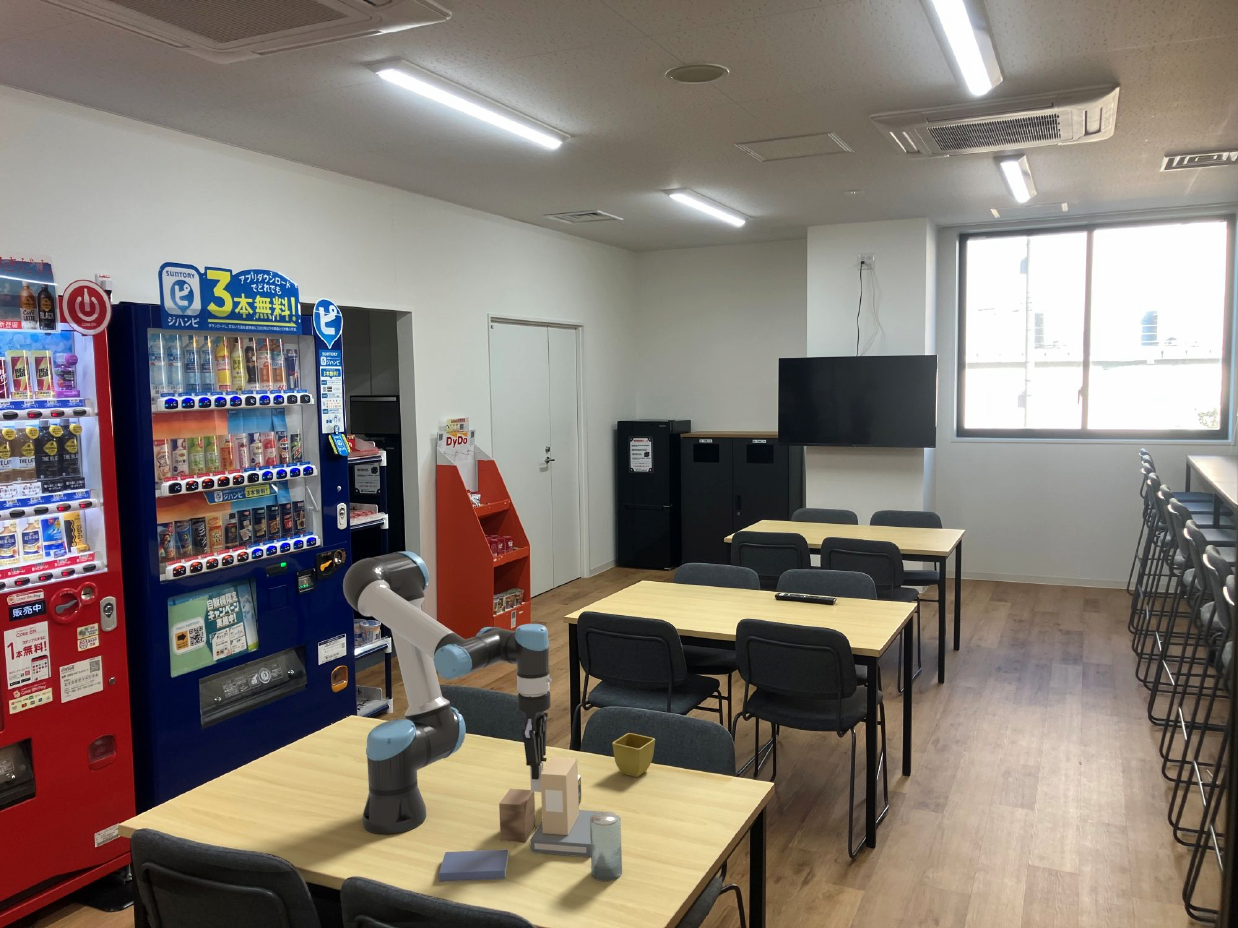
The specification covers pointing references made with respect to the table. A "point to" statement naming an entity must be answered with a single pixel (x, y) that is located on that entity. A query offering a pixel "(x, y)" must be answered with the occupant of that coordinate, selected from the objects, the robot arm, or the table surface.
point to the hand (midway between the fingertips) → (537, 790)
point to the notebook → (474, 865)
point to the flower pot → (633, 753)
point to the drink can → (606, 846)
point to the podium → (566, 838)
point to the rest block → (517, 815)
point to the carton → (559, 795)
